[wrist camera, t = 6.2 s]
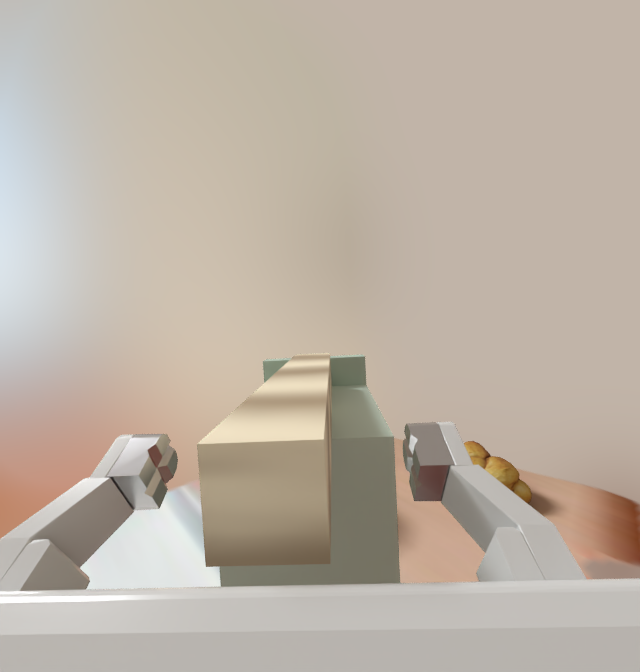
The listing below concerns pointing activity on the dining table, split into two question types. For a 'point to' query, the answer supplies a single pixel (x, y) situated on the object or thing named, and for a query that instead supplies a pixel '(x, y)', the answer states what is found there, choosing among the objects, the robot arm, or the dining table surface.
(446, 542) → the dining table surface
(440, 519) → the dining table surface
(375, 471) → the pale green block
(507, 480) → the bread roll
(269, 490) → the rail
